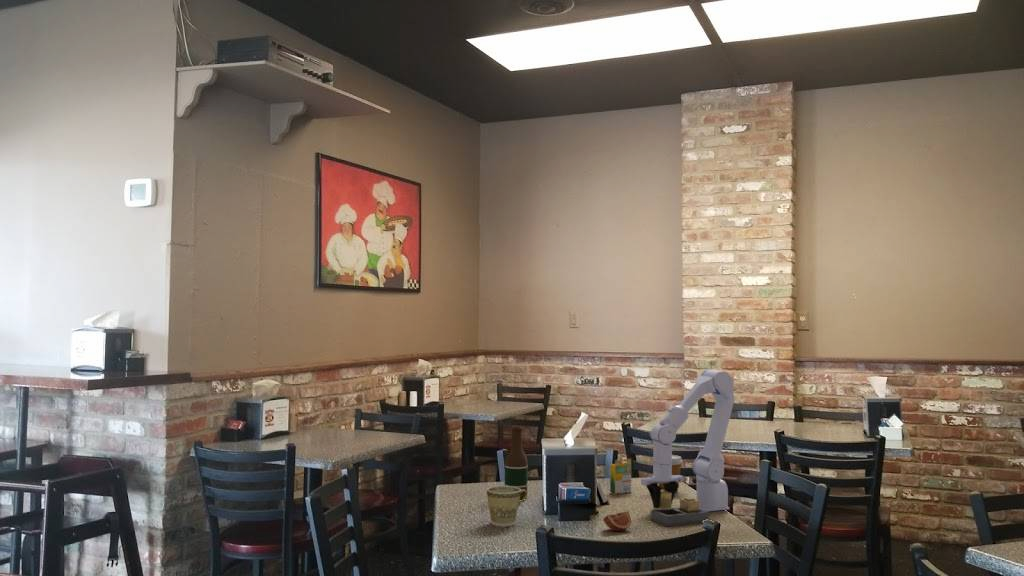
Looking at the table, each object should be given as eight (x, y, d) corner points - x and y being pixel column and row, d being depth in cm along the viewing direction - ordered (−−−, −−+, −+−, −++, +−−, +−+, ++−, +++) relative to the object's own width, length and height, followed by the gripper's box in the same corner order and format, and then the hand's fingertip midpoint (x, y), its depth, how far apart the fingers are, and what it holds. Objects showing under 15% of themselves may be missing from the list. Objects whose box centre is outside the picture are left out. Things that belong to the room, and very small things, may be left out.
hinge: (611, 504, 258) (601, 475, 257) (598, 510, 256) (589, 481, 255) (587, 493, 273) (578, 466, 272) (575, 499, 271) (567, 471, 271)
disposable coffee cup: (651, 488, 283) (651, 454, 283) (677, 487, 284) (677, 454, 284) (659, 494, 273) (659, 459, 274) (686, 493, 274) (686, 458, 275)
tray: (692, 515, 244) (692, 494, 244) (708, 522, 237) (708, 500, 237) (650, 520, 238) (651, 498, 238) (666, 526, 231) (666, 504, 231)
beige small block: (663, 509, 252) (664, 489, 252) (671, 512, 248) (671, 491, 248) (653, 510, 250) (653, 489, 250) (660, 513, 246) (660, 492, 247)
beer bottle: (531, 498, 265) (532, 425, 266) (519, 502, 259) (520, 428, 259) (512, 495, 269) (513, 423, 270) (499, 499, 263) (500, 426, 264)
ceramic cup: (497, 530, 225) (498, 494, 225) (479, 522, 233) (480, 487, 233) (535, 524, 232) (536, 489, 232) (517, 516, 240) (517, 483, 240)
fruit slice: (613, 535, 221) (613, 517, 221) (597, 529, 227) (597, 512, 227) (635, 531, 226) (635, 513, 226) (619, 525, 231) (619, 508, 232)
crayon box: (626, 490, 279) (626, 457, 279) (631, 492, 276) (631, 458, 276) (609, 492, 275) (609, 458, 275) (615, 494, 272) (615, 460, 273)
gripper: (674, 459, 256) (674, 502, 256) (635, 462, 250) (635, 505, 250) (687, 463, 250) (687, 506, 249) (648, 466, 244) (648, 510, 243)
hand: (662, 506), depth 249 cm, fingers closed on beige small block, 4 cm apart
